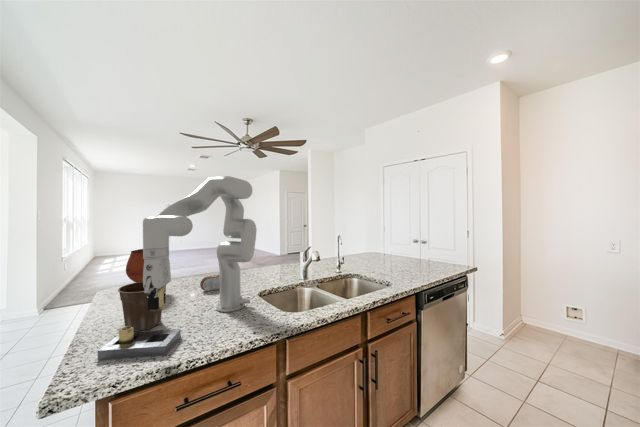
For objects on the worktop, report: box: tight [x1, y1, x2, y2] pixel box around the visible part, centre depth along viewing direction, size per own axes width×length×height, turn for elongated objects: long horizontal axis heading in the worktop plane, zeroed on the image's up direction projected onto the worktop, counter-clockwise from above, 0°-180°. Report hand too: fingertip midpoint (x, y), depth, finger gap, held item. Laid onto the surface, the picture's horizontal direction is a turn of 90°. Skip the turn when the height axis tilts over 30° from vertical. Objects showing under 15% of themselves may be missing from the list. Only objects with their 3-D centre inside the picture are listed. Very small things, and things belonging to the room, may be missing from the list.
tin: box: [199, 274, 220, 293], centre depth 154 cm, size 15×3×8 cm, turn 130°
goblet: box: [125, 248, 144, 283], centre depth 147 cm, size 19×19×25 cm
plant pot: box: [117, 282, 163, 332], centre depth 107 cm, size 16×16×16 cm
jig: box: [97, 325, 182, 361], centre depth 90 cm, size 20×12×7 cm, turn 97°
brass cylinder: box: [150, 287, 165, 311], centre depth 90 cm, size 4×4×7 cm
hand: (156, 306), depth 90 cm, fingers closed on brass cylinder, 4 cm apart
